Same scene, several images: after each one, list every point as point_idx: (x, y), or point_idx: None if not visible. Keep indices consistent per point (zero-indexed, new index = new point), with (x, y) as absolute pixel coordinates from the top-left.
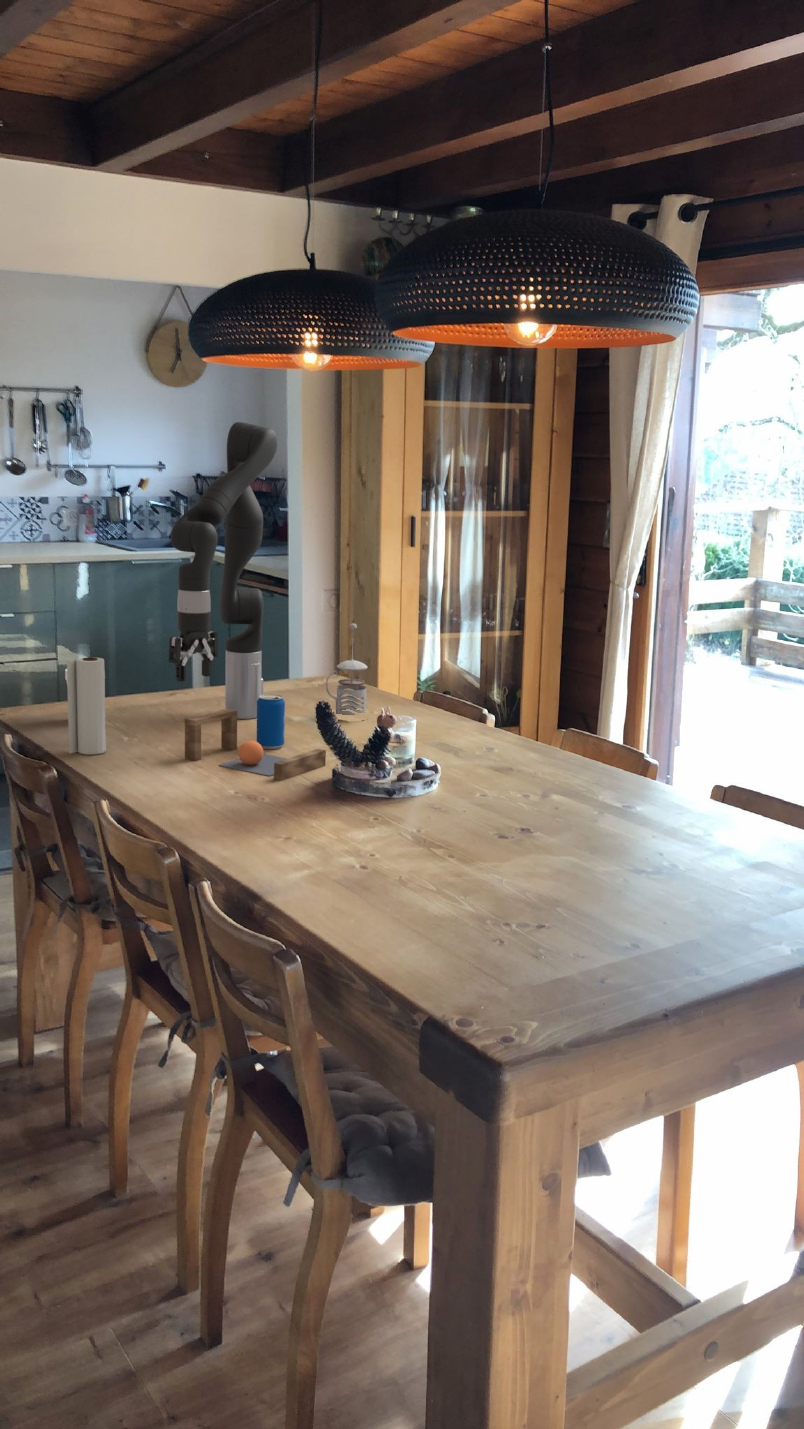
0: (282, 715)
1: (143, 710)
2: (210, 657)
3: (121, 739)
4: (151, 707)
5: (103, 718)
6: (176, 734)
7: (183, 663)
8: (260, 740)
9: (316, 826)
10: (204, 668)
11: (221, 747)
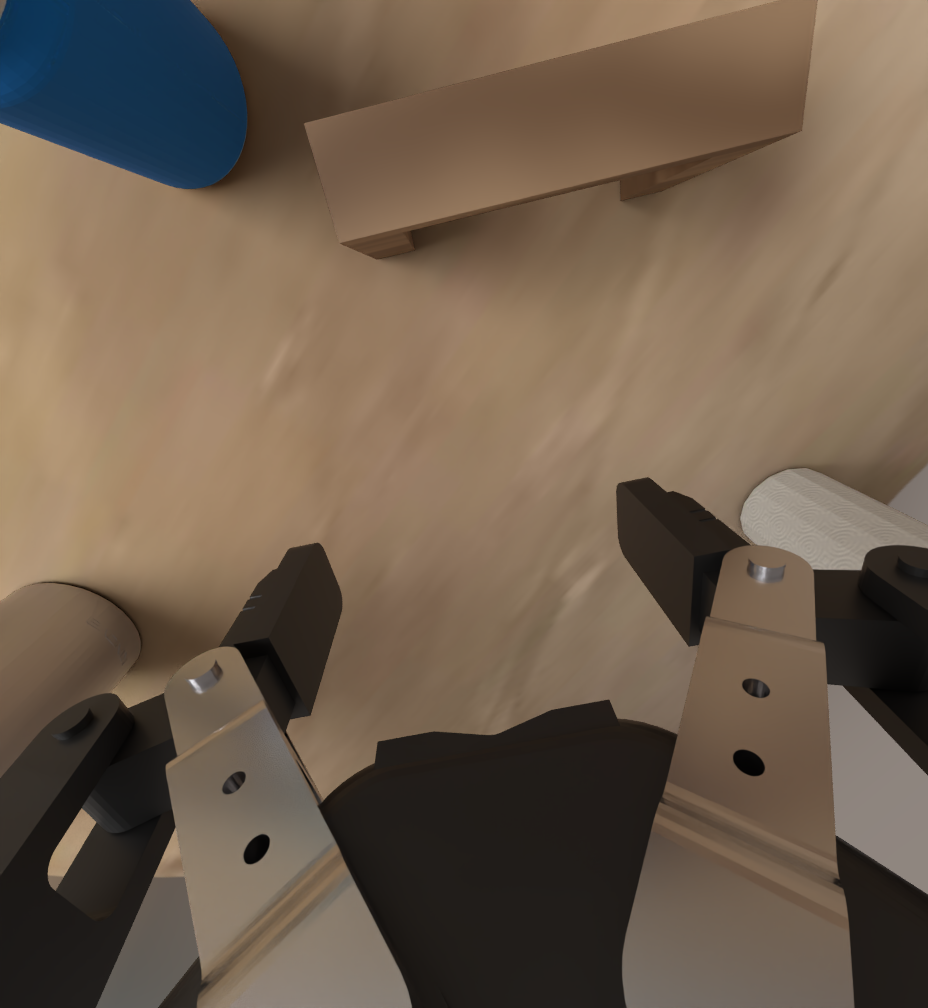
0: None
1: (338, 785)
2: (221, 677)
3: (599, 583)
4: None
5: (884, 534)
6: (422, 546)
7: (786, 555)
8: (231, 75)
9: None
10: (318, 622)
11: (414, 248)
